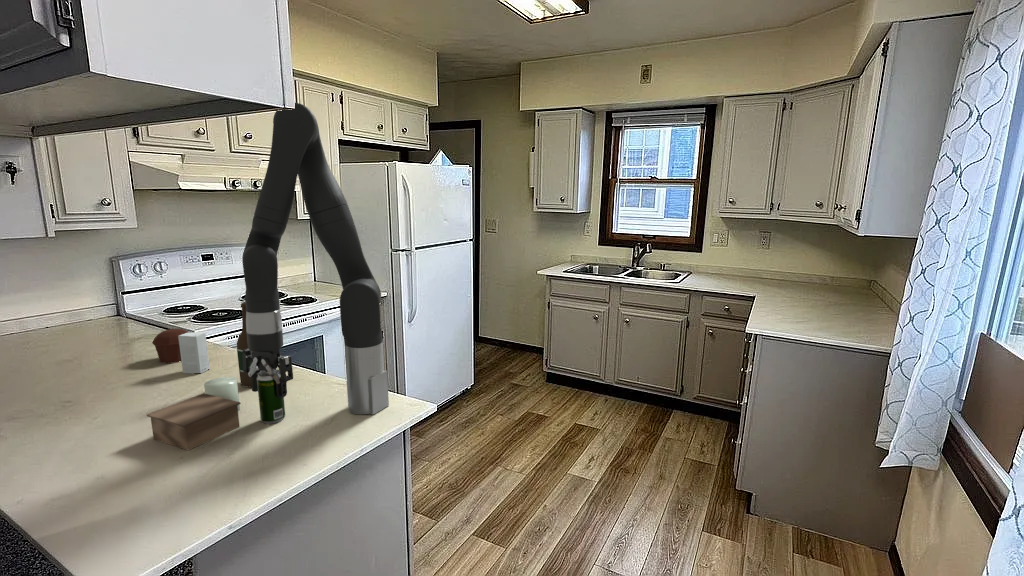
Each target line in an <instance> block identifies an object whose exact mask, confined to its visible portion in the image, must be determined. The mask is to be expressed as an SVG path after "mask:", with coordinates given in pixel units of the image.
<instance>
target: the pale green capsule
mask: <svg viewBox="0 0 1024 576" xmlns="http://www.w3.org/2000/svg"><path fill="white" fill-rule="evenodd" d="M203 388H204V393H205V394H209V395H213V396H217V397H221V398H225V399H229V400H233V401H237V402H240V398H239V386H238V379H237V378H236V377H233V376H222V377H216V378H213V379H212V378H211V379H210V380H208V381H206V382H204V384H203ZM240 405H241V404H239V405H237V407H238V413H239V412H240V410H241V407H240Z"/></svg>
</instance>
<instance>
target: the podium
mask: <svg viewBox="0 0 1024 576" xmlns="http://www.w3.org/2000/svg"><path fill="white" fill-rule="evenodd" d="M237 405H241V402H240V401H239V402H237V401H233V400H229V399H225V398H221V397H217V396H213V395H209V394H205V392H204V393H201V394H198V395H195V396H193V397H190V398H188V399H187V398H186V399H184V400H182V401H179V402H177V403H174V404H171V405H168V406H165V407H164V408H161V409H157V410H154V411H152V412H149V413H147V414H146V417H148V418H150V423H151V424H150V425H151V430H152V438H153V440H155V441H158V442H161V443H165V444H167V445H171V446H174V447H177V448H179V449H183V450H186V451H190V450H192V449H196V448H197V447H200V446H201V445H203V444H205V443H208V442H210V441H212V440H214V439H216V438H219V437H221V436H222V435H225V434H226V433H230V432H232V431H233V430H235V429H238V428H240V426H241V425H240V419H239V418H240V417H239V412H238V407H237Z"/></svg>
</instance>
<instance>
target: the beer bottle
mask: <svg viewBox="0 0 1024 576" xmlns="http://www.w3.org/2000/svg"><path fill="white" fill-rule="evenodd" d="M240 308H241V316H242V317H241V319H242V321H241V322H242V327H241V328H242V329H241V332H240V334H239V335H238V337H237V341H236V352H237V353H236V354H237V363H238V370H239V371H238V373H239V380H240V385H241V386H242V387H245V388H252V387H251V377H249V375H248V373H244V372H243V356H242V351H243V350H245V349H248V343H247V330H246V301H243V302H241V303H240ZM248 367H250V363H248ZM262 371H264V370H262Z"/></svg>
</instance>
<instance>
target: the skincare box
mask: <svg viewBox="0 0 1024 576" xmlns="http://www.w3.org/2000/svg"><path fill="white" fill-rule="evenodd" d="M189 332H190V331H188V333H185V334H182V335H179V336H178V338H179V346H180V353H181V368H182V373H183V374H194V373H201V374H203V373H205V372H208V371H209V370H210V369H211V367H210V360H209V353H208V344H207V336H206V332H190V333H189ZM208 369H209V370H208Z"/></svg>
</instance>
